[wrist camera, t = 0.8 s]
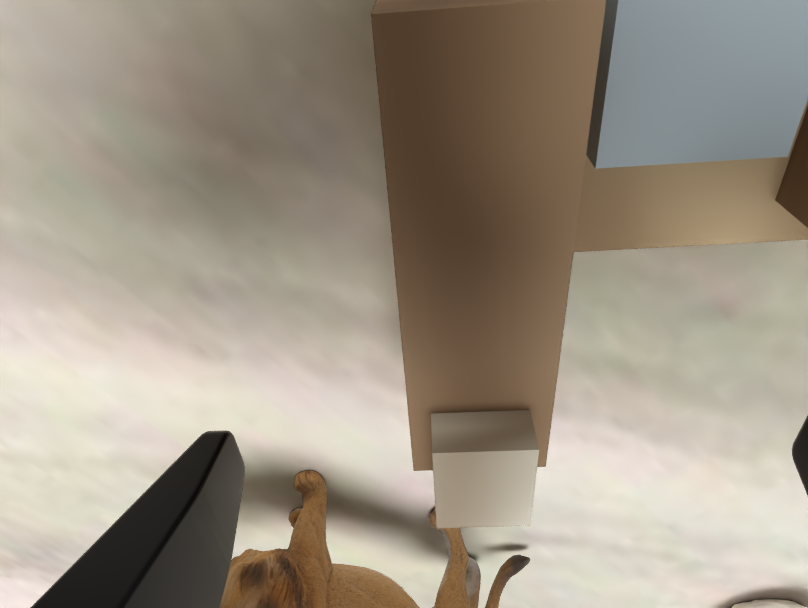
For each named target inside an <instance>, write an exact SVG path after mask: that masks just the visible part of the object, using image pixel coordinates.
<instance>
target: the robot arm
mask: <svg viewBox="0 0 808 608" xmlns="http://www.w3.org/2000/svg"><path fill="white" fill-rule="evenodd" d="M792 456H793V460H794V463H795V465H796V468H797V470H798V473H799V475H800V478H801V480H802V483H803V485H804V488H805V490H806V493H807V495H808V416H807V418H806V420H805V422H804V424H803V426H802V428H801V430H800V431H799V433H798V435H797V437H796V439H795V441H794V443H793V447H792ZM244 476H245V466H244V462H243V459H242V456H241V454H240V451H239V448H238V446H237V443H236V441H235V438H234V436H233V434H232V433H231V432H230V431H208V432H205V433H204V434H202V435H201V436H200V437H199V438H198V439H197V440H196V441H195V442H194V443H193V444H192V445H191V446H190V447H189V448H188V449H187V450H186V451H185V452H184V453H183V454H182V455H181V456H180V457H179V458H178V459H177V460H176V461H175V462H174V463H173V464H172V465H171V466H170V467H169V468H168V469H167V470H166V471H165V472H164V473H163V474H162V475H161V476H160V477H159V478H158V479H157V480H156V481H155V482H154V483H153V484H152V485H151V486H150V487H149V488H148V489H147V490H146V491H145V492H144V493H143V494H142V495H141V496H140V498H139V499H138V500H137V501H136V502H135V503H134V504H133V505H132V506H131V507H130V508H129V509H128V510H127V511H126V512H125V513H124V514H123V515H122V516H121V517H120V518H119V519H118V520H117V521H116V522H115V523H114V524H113V525H112V526H111V527H110V528H109V529H108V530H107V531H106V532H105V533H104V534H103V535H102V536H101V537H100V538H99V539H98V540H97V541H96V542H95V543H94V544H93V545H92V546H91V547H90V548H89V549H88V550H87V551H86V552H85V553H84V554H83V555H82V556H81V557H80V558H79V559H78V560H77V561H76V562H75V563H74V564H73V565H72V566H71V567H70V568H69V569H68V570H67V571H66V572H65V573H64V574H63V575H62V576H61V577H60V578H59V579H58V580H57V581H56V582H55V583H54V584H53V586H52V587H51V588H50V589H49V590H48V591H47V592H46V593H45V594H44V595H43V596H42V597H41V598H40V599H39V600H38V601H37V602H36V603H35V604H34V605H33V606H32V607H31V608H220V604H221V600H222V596H223V593H224V589H225V585H226V581H227V577H228V573H229V569H230V564H231V559H232V553H233V547H234V540H235V534H236V528H237V521H238V515H239V508H240V502H241V496H242V489H243V483H244Z"/></svg>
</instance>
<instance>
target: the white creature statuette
mask: <svg viewBox="0 0 808 608" xmlns="http://www.w3.org/2000/svg"><path fill="white" fill-rule="evenodd" d="M731 608H808V607H804V606H802V605H800V604H797V603H796V602H795V601H788V600H779V599H764V600H753V601H752V602H743V603H740V604H734V605H733V606H732V607H731Z"/></svg>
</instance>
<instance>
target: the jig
mask: <svg viewBox="0 0 808 608" xmlns="http://www.w3.org/2000/svg"><path fill="white" fill-rule="evenodd" d="M806 239H808V100H807V103H806V106H805V109H804V112H803V114H802V117H801V120H800V123H799V126H798V129H797V132H796V135H795V137H794V140H793V143H792V146H791V149H790V152H789V155H788V157H774V158H758V159H742V160H726V161H710V162H694V163H678V164H661V165H645V166H629V167H613V168H597V169H595V167H594V166H593V164H592V163H591V161H590V160H589V158H588V157H587V155H586V160H585V167H584V175H583V183H582V190H581V198H580V206H579V213H578V221H577V229H576V236H575V244H574V252H582V251H601V250H619V249H638V248H657V247H675V246H694V245H713V244H732V243H750V242H769V241H788V240H806Z"/></svg>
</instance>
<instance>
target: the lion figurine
mask: <svg viewBox="0 0 808 608" xmlns="http://www.w3.org/2000/svg"><path fill="white" fill-rule="evenodd" d="M294 488H295V490H297V491H300V492H301V493H302V500H303V508H296V509H295V510H294V511H293V512H291V513H290V516H289V521H290V523H291V526H292V527H293V528H294V529H293V533H292V536H291V541H290V545H289V547H288V549H275V550H270V551H258V550H253V549H248V550H246V551H245V552H244V553H242V554H241V555H240V556H237V557H234V558H233V559H232V560H231V564H230V569H229V573H228V577H227V581H226V585H225V589H224V593H223V596H222V600H221V604H220V608H419V607H418V605H417V604H416V603H415V601H414V600H413V599H412V598H411V597H410V596H409V595H408V594H407V593H406V592H405V591H404V589H403V588H402V587H401V586H399V585H398V584H397V583H396V582H394V581H393V580H392V579H391V578H389V577H387V576H385V575H383V574H382V573H380V572H377V571H375V570H371V569H368V568H365V567H359V566H352V565H345V564H331V559H330V555H329V552H328V548H327V544H326V507H327V492H326V486H325V482H324V480H323V478H322V477H321V476H320V474H318V473H317V472H315V471H312V470H308V471H302V472H300V473H298V474H297V475H296V477H295V482H294ZM429 524H430V526H431V527H433V528H434V529H437V530H439V531H440V532H442V534H443V535H444V537H445V539H446V542H447V546H448V564H447V567H446V570H445V573H444V576H443V579H442V581H441V584H440V587H439V590H438V593H437V597H436V602H435V606H434V607H432V608H478V601H479V590H480V579H481V574H480V569H479V567H478V564H477V562H476V561H475V560H474V559H472V558H471V557H468V553H467V550H466V548H465V545H464V542H463V539H462V536H461V532H460V528H437V524H436V508H435V509H434V510H433V511H432V512H431V513H430V515H429ZM529 561H530V558H529V557H525V556H521V555H514V556H512V557H511V558H509V559H508V560H507V561H506V562H505V563H504V564H503V565H502V566H501V568H500V569H499V572H498V574H497V576H496V578H495V580H494V582H493V585H492V587H491V590H490V593H489V597H488V601H487V604H486V607H485V608H498V605H499V600H500V596H501V593H502V591H503V588H504V587H505V585H506V583H507V581H508V580H509V579H510V577H512V576H513V575H515V574H516V573H518V572H519V571H520V570H521V569H523V568H524V567H525V566H526V565H527V564H528V563H529Z"/></svg>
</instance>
